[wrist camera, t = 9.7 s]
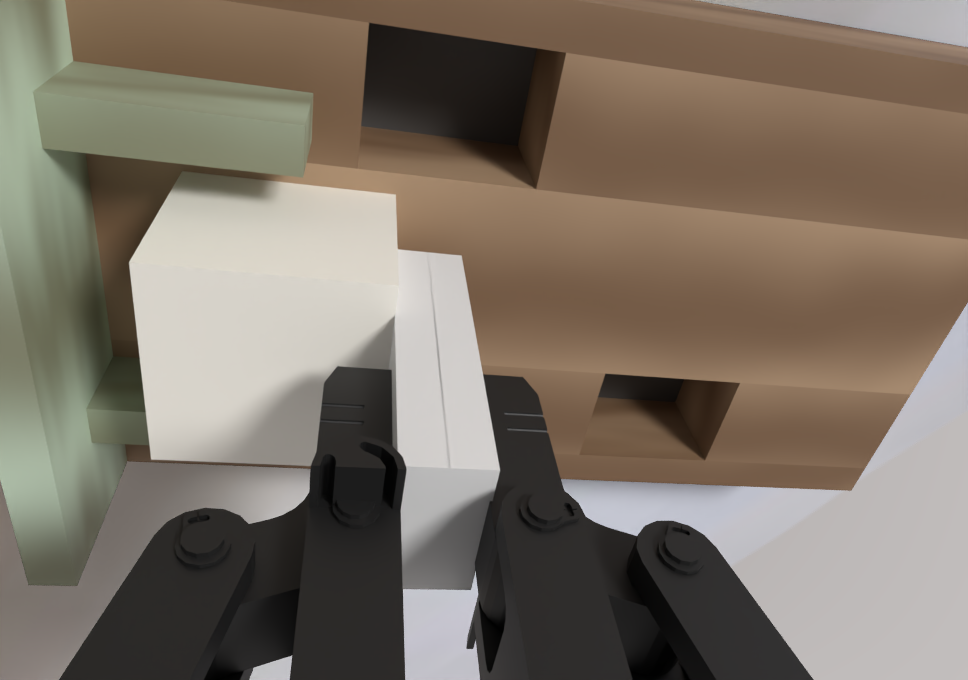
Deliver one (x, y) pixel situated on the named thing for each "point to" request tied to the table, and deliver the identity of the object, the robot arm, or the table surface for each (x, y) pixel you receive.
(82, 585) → the table surface
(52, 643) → the table surface
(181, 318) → the ivory block
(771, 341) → the board
